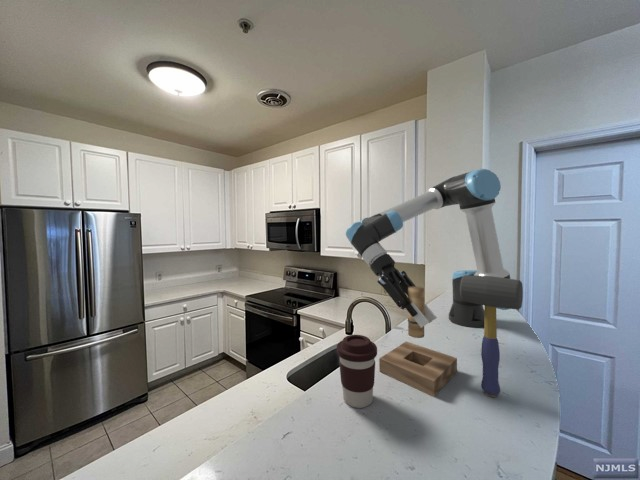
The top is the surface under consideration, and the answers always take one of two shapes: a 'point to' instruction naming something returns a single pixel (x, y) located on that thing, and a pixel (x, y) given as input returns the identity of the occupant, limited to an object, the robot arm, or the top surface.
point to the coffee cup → (357, 369)
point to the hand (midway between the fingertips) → (429, 322)
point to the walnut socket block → (419, 367)
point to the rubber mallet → (491, 318)
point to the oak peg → (418, 299)
